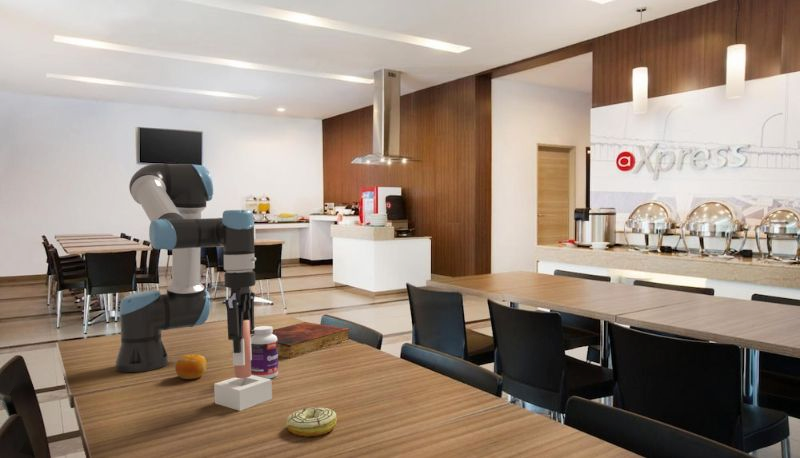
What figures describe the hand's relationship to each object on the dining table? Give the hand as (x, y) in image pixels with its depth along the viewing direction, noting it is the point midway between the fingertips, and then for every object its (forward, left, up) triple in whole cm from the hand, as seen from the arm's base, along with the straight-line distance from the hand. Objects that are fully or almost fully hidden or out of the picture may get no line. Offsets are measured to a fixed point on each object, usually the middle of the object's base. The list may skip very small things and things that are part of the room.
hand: (242, 362), depth 138 cm
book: (-32, +50, -11) cm, 60 cm away
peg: (0, 0, -3) cm, 3 cm away
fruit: (-30, +5, -10) cm, 32 cm away
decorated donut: (+27, -3, -10) cm, 30 cm away
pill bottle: (-12, +17, -10) cm, 23 cm away
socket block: (0, 0, -10) cm, 10 cm away
